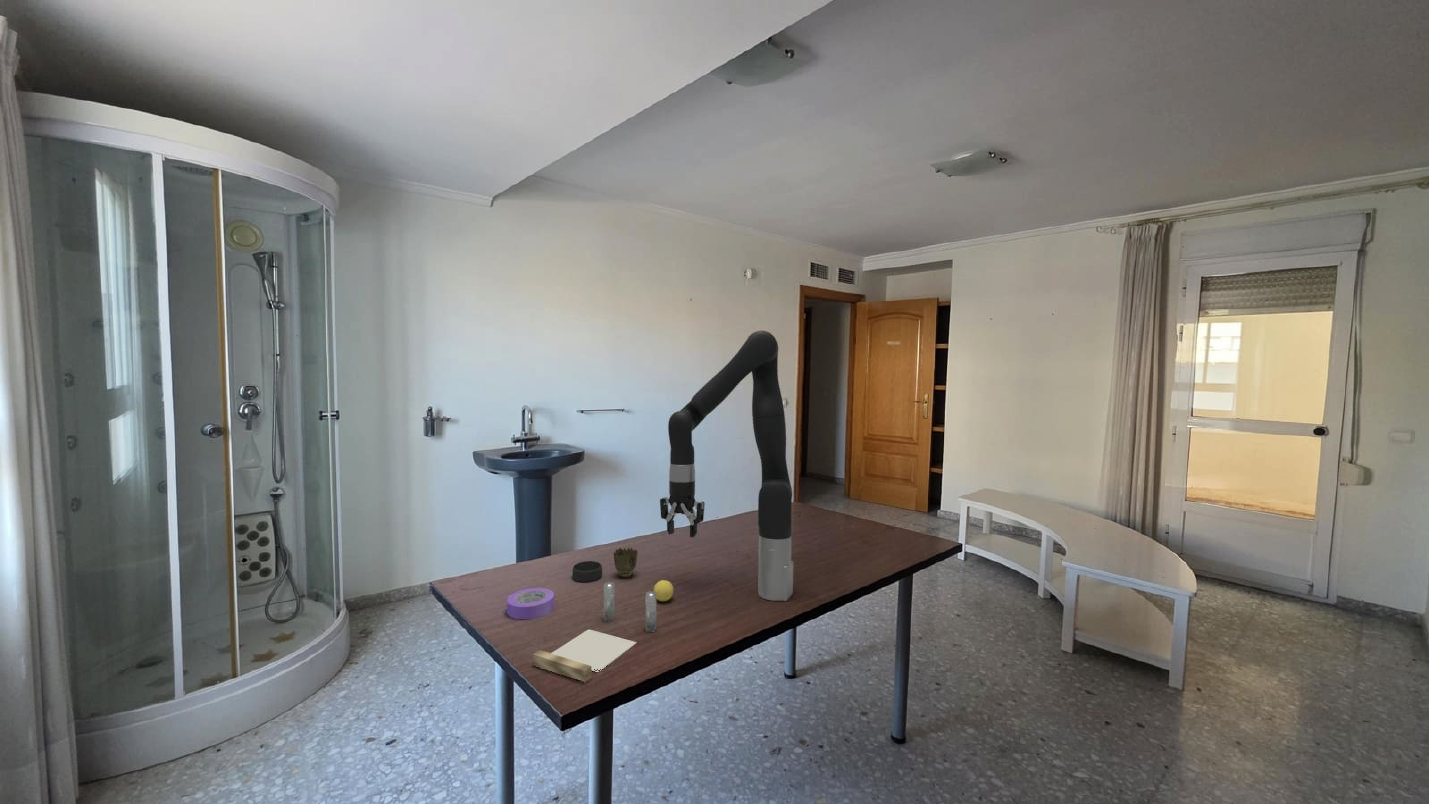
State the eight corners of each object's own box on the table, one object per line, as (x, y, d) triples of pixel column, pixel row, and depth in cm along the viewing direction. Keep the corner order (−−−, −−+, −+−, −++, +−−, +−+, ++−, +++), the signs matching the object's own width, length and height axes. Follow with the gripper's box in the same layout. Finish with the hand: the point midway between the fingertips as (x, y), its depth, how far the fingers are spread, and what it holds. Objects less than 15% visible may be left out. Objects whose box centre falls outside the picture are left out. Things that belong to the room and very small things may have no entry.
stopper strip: (591, 678, 105) (591, 666, 105) (584, 683, 103) (584, 671, 103) (539, 661, 111) (539, 650, 111) (532, 666, 109) (532, 654, 109)
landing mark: (636, 643, 119) (636, 642, 119) (597, 673, 106) (597, 672, 106) (588, 630, 125) (588, 629, 125) (546, 657, 113) (546, 656, 113)
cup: (632, 581, 156) (632, 555, 156) (609, 579, 158) (609, 553, 157) (640, 573, 163) (640, 548, 163) (618, 571, 165) (619, 546, 165)
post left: (616, 618, 132) (616, 583, 132) (609, 622, 129) (610, 586, 129) (608, 616, 133) (608, 581, 133) (601, 620, 131) (601, 585, 130)
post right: (658, 628, 126) (658, 592, 126) (652, 633, 124) (652, 596, 124) (649, 626, 127) (649, 590, 127) (643, 630, 125) (643, 594, 125)
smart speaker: (599, 583, 156) (599, 570, 155) (569, 583, 155) (569, 570, 155) (603, 572, 164) (603, 560, 164) (575, 573, 164) (575, 560, 164)
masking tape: (535, 623, 129) (535, 608, 129) (497, 617, 132) (497, 602, 132) (562, 604, 140) (562, 590, 140) (526, 599, 144) (526, 585, 143)
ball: (677, 598, 144) (677, 579, 144) (666, 606, 139) (666, 586, 139) (660, 595, 146) (660, 576, 146) (649, 602, 142) (649, 582, 141)
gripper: (709, 478, 151) (709, 535, 151) (667, 474, 157) (667, 529, 158) (697, 483, 144) (697, 542, 145) (654, 478, 150) (654, 535, 151)
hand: (681, 535), depth 151 cm, fingers open, 6 cm apart
